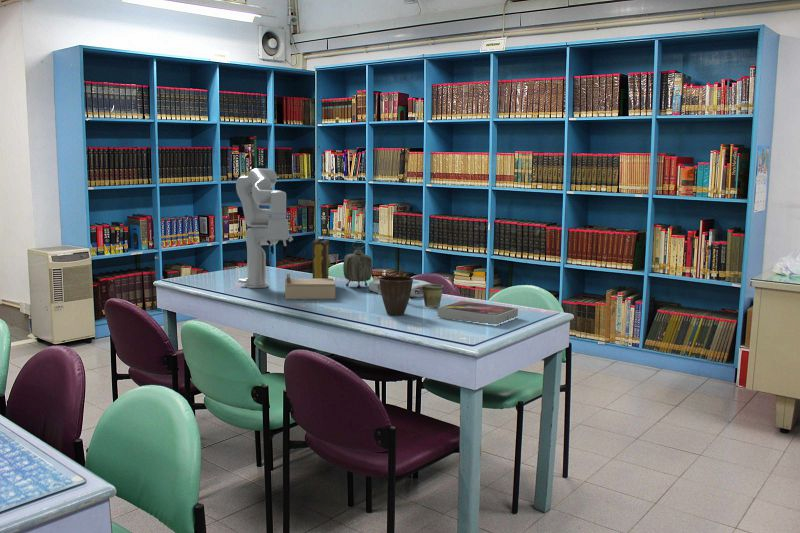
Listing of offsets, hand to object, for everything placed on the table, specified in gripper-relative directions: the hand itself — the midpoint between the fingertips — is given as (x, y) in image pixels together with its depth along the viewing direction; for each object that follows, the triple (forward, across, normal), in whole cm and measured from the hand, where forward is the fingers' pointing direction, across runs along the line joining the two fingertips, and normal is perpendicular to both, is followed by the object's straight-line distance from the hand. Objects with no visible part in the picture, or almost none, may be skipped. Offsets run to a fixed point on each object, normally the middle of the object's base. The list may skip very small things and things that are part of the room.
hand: (278, 253), depth 348 cm
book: (+22, +22, +30) cm, 43 cm away
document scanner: (+22, +64, +10) cm, 68 cm away
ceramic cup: (+22, +72, -27) cm, 80 cm away
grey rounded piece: (+22, +42, +28) cm, 55 cm away
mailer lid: (+15, +16, 0) cm, 21 cm away
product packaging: (+22, +86, -55) cm, 105 cm away
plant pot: (+22, +52, -45) cm, 72 cm away
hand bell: (+22, +58, -15) cm, 64 cm away
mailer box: (+21, +16, 0) cm, 26 cm away
